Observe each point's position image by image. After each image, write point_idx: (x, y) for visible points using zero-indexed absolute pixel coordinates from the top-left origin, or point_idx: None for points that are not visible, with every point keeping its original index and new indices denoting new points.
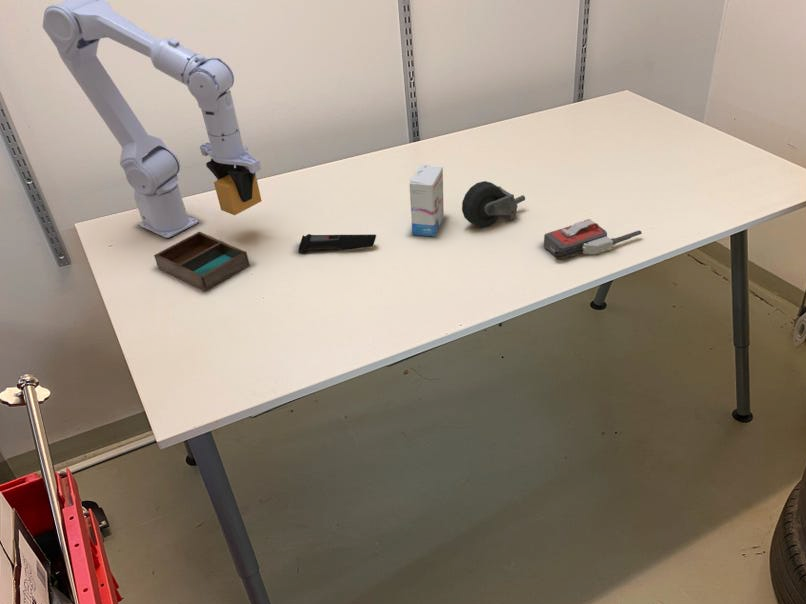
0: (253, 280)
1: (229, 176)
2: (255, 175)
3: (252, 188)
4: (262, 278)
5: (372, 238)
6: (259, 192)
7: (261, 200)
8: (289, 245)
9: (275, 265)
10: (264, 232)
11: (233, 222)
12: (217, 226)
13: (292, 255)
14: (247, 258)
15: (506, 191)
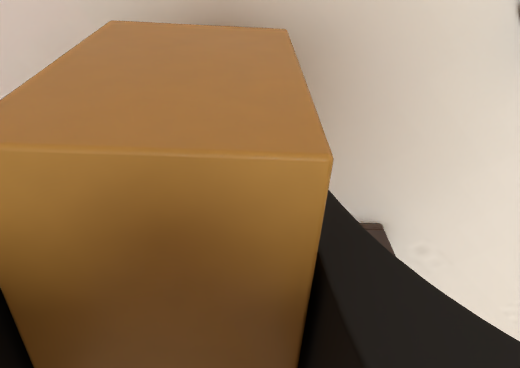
0: (446, 268)
1: (77, 364)
2: (328, 151)
3: (346, 211)
4: (470, 250)
5: None
6: (296, 56)
7: (287, 32)
8: (457, 37)
9: (475, 181)
10: (257, 6)
11: (30, 15)
12: (12, 90)
13: (512, 96)
14: (390, 246)
15: None
